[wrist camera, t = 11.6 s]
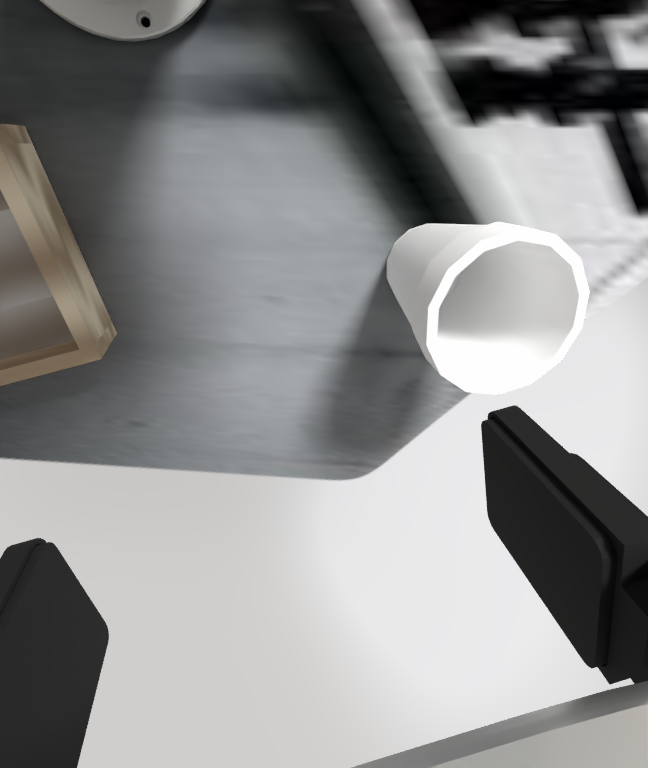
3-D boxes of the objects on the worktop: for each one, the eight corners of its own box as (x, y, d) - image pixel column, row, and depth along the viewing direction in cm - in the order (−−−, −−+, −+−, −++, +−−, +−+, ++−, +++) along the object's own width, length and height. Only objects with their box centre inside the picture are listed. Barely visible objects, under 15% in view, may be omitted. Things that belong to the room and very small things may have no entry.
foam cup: (475, 318, 41) (570, 386, 29) (367, 329, 40) (423, 404, 28) (487, 197, 37) (603, 221, 25) (367, 205, 35) (432, 234, 24)
